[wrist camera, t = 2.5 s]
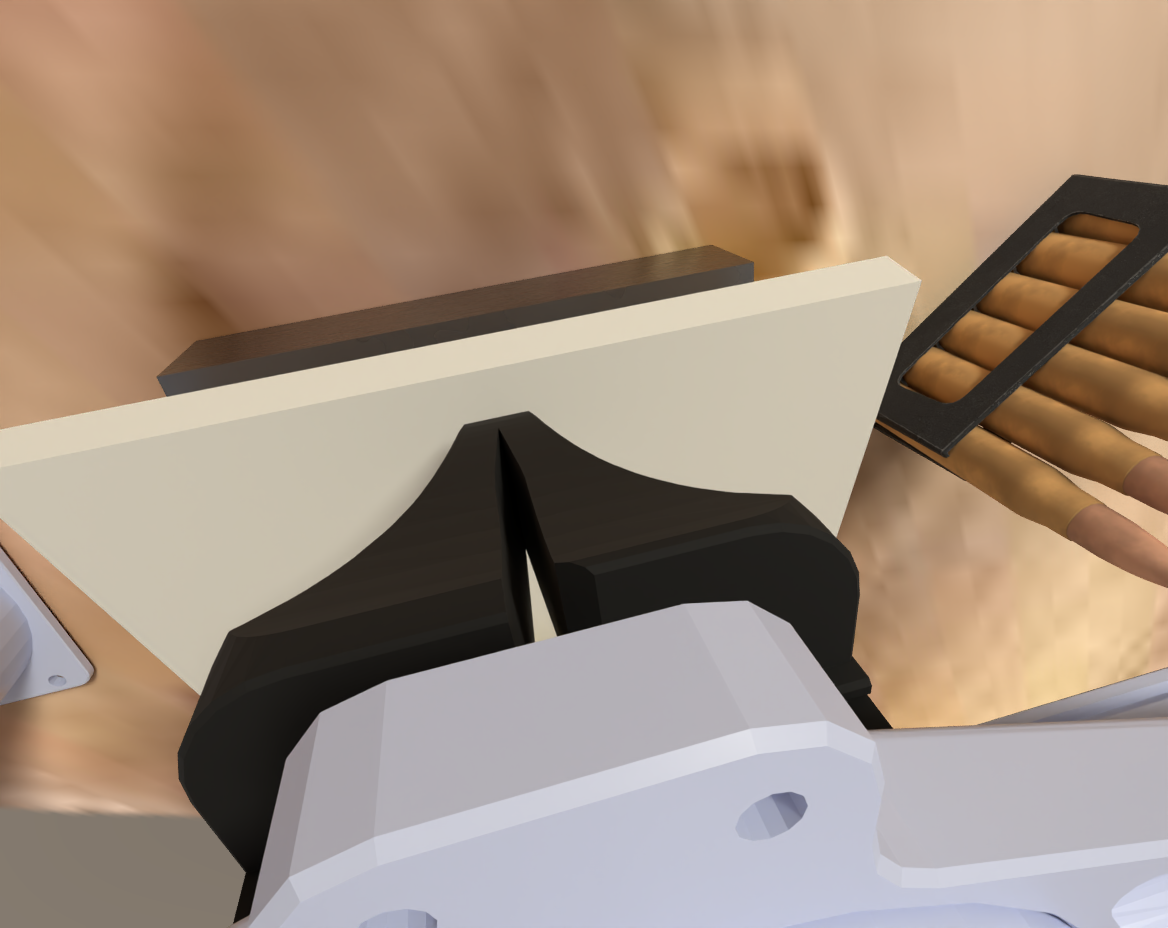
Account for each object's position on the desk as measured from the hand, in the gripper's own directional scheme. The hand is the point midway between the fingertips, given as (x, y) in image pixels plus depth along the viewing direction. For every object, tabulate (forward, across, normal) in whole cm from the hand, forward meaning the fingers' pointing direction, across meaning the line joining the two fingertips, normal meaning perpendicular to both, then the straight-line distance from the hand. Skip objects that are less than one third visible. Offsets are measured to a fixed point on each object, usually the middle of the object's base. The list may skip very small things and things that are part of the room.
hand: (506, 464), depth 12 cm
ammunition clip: (+10, -18, +3) cm, 21 cm away
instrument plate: (+4, 0, +6) cm, 7 cm away
